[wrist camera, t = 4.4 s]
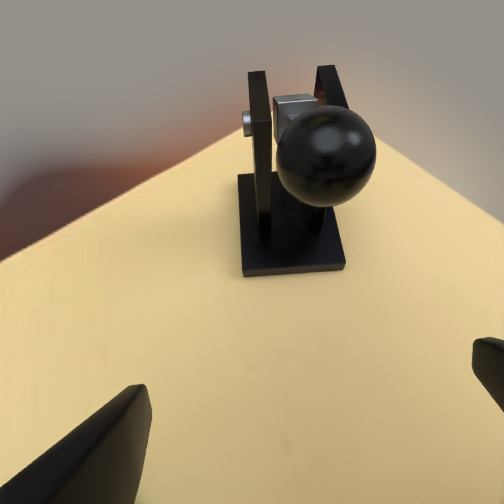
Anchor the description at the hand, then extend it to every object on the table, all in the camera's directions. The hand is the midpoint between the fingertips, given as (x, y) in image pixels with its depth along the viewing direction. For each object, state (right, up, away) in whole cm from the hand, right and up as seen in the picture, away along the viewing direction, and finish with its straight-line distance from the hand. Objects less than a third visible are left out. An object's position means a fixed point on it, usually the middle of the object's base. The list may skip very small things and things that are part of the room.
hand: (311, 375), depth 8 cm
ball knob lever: (+1, +7, +7) cm, 10 cm away
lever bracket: (+1, +6, +19) cm, 20 cm away
